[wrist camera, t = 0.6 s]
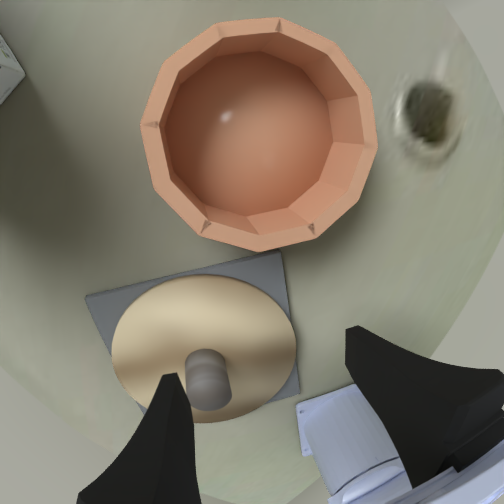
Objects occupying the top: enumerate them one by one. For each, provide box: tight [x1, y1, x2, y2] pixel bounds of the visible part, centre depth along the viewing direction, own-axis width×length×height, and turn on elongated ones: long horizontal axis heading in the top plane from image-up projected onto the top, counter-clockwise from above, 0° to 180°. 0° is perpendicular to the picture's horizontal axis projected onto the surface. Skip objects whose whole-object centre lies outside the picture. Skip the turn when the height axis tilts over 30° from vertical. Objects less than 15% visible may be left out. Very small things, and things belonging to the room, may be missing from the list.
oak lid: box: [111, 274, 296, 423], centre depth 20 cm, size 13×13×4 cm
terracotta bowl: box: [140, 17, 378, 252], centre depth 16 cm, size 11×11×4 cm
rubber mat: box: [85, 250, 300, 415], centre depth 22 cm, size 13×13×1 cm
